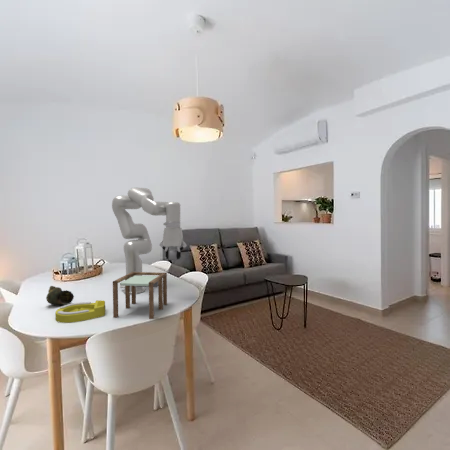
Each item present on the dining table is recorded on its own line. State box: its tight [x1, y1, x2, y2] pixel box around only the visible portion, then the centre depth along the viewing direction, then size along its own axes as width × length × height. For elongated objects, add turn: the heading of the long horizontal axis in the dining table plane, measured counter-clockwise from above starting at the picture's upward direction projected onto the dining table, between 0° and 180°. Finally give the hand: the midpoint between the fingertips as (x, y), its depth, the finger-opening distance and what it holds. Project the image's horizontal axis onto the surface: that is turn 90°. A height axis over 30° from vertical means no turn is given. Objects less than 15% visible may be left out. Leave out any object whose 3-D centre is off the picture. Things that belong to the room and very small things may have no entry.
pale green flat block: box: [119, 275, 159, 288], centre depth 139 cm, size 15×16×5 cm
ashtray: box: [54, 299, 106, 324], centre depth 133 cm, size 16×21×5 cm
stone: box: [167, 249, 179, 261], centre depth 152 cm, size 5×5×5 cm
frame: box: [112, 271, 168, 320], centre depth 140 cm, size 19×21×17 cm
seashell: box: [46, 285, 75, 306], centre depth 147 cm, size 11×11×10 cm
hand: (173, 258), depth 152 cm, fingers closed on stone, 5 cm apart
